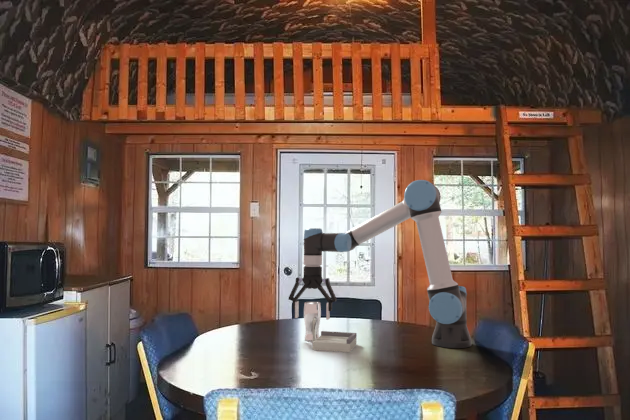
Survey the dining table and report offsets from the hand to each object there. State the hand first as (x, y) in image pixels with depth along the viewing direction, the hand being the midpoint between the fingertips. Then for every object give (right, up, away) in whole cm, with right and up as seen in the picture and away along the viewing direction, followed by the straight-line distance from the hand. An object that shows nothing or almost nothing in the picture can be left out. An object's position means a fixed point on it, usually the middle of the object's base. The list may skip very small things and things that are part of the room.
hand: (312, 318), depth 211 cm
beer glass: (0, -9, -1) cm, 9 cm away
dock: (+9, -8, -14) cm, 18 cm away
